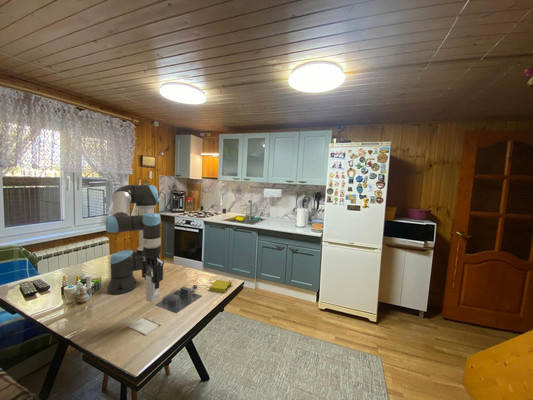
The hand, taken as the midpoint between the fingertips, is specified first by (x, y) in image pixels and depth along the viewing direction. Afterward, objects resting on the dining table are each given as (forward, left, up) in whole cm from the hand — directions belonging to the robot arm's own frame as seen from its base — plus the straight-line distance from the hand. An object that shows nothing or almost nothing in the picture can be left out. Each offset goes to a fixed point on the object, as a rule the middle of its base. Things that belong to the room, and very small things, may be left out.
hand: (152, 293), depth 109 cm
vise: (-2, +21, -14) cm, 25 cm away
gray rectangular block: (0, +2, -3) cm, 3 cm away
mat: (0, 0, -14) cm, 14 cm away
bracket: (+8, +42, -15) cm, 45 cm away
